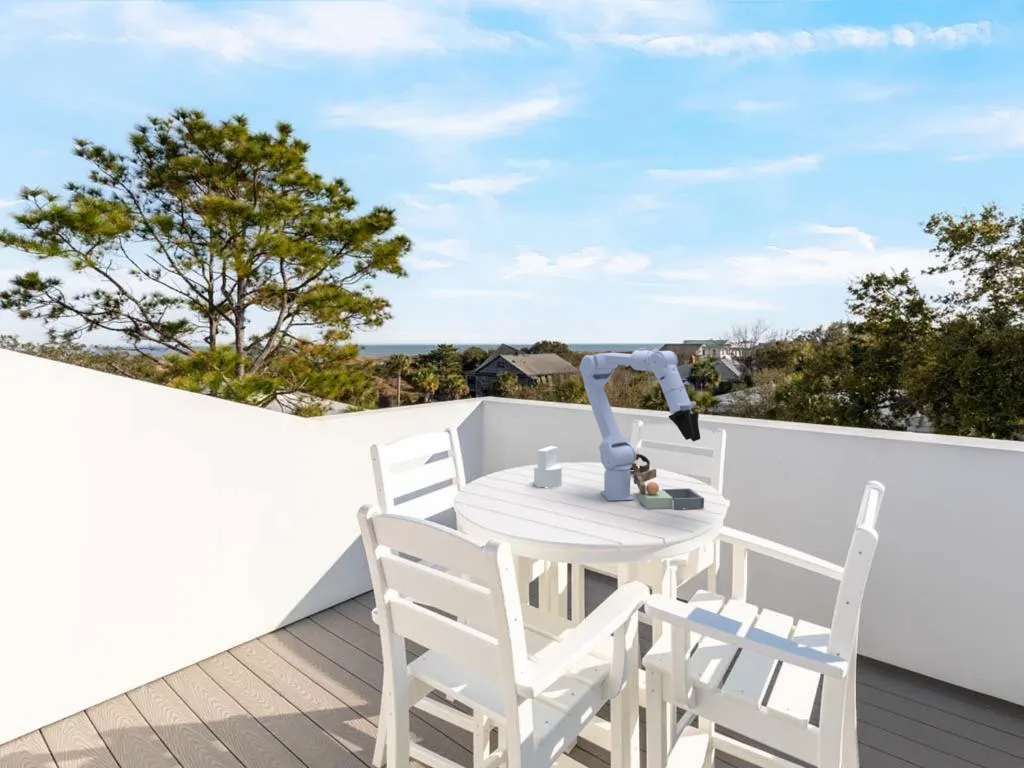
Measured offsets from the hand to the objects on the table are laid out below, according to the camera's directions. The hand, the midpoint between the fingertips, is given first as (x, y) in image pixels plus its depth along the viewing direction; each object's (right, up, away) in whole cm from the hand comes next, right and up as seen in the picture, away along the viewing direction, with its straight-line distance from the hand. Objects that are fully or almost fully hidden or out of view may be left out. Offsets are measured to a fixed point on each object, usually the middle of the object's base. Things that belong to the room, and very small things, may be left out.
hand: (693, 439), depth 156 cm
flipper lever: (-6, -16, +24) cm, 30 cm away
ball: (-7, -15, +15) cm, 23 cm away
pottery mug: (-5, -17, +53) cm, 56 cm away
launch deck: (-6, -20, +16) cm, 26 cm away
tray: (+2, -20, +16) cm, 26 cm away
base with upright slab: (-36, -19, +39) cm, 56 cm away
